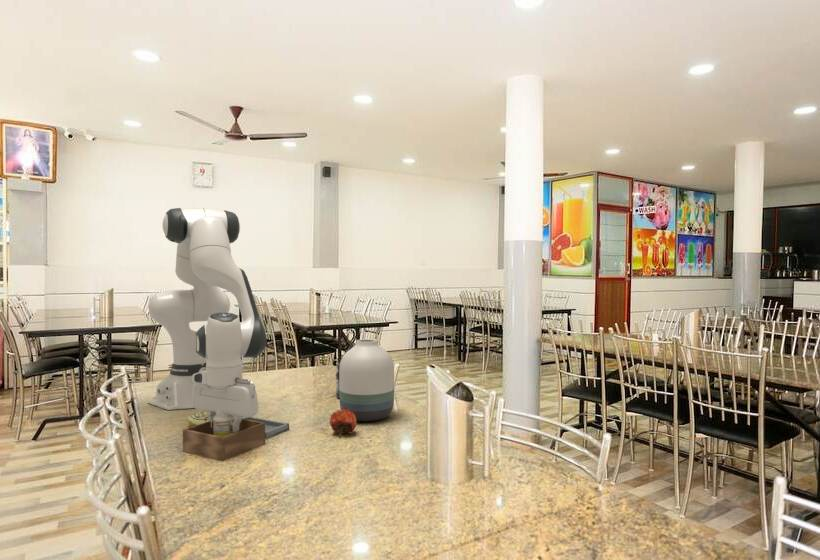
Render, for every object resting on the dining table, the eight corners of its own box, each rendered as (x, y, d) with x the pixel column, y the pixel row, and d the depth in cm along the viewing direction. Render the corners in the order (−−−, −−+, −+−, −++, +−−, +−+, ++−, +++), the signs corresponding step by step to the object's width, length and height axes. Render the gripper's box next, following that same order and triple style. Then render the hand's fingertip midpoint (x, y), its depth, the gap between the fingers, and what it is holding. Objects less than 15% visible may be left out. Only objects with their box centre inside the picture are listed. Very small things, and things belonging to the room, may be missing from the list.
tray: (221, 431, 147) (221, 425, 147) (247, 422, 156) (247, 416, 156) (264, 440, 139) (264, 433, 139) (289, 429, 148) (289, 423, 148)
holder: (182, 451, 131) (182, 429, 131) (226, 435, 143) (226, 415, 143) (223, 461, 124) (223, 438, 124) (265, 443, 137) (265, 422, 137)
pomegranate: (355, 445, 142) (363, 415, 149) (346, 429, 137) (355, 399, 145) (330, 446, 144) (340, 416, 151) (321, 430, 140) (331, 400, 147)
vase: (401, 412, 166) (401, 338, 166) (381, 428, 150) (381, 345, 150) (353, 408, 172) (353, 335, 171) (329, 422, 156) (329, 342, 155)
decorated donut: (202, 434, 145) (202, 421, 145) (180, 427, 151) (180, 414, 151) (234, 425, 154) (233, 412, 153) (212, 418, 160) (212, 406, 160)
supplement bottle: (229, 442, 138) (228, 404, 138) (240, 446, 134) (240, 407, 134) (209, 447, 133) (208, 408, 133) (220, 452, 130) (220, 412, 130)
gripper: (263, 377, 131) (263, 432, 132) (206, 370, 141) (207, 421, 141) (245, 382, 126) (245, 439, 126) (187, 374, 135) (187, 427, 136)
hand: (224, 429), depth 134 cm, fingers closed on supplement bottle, 5 cm apart
